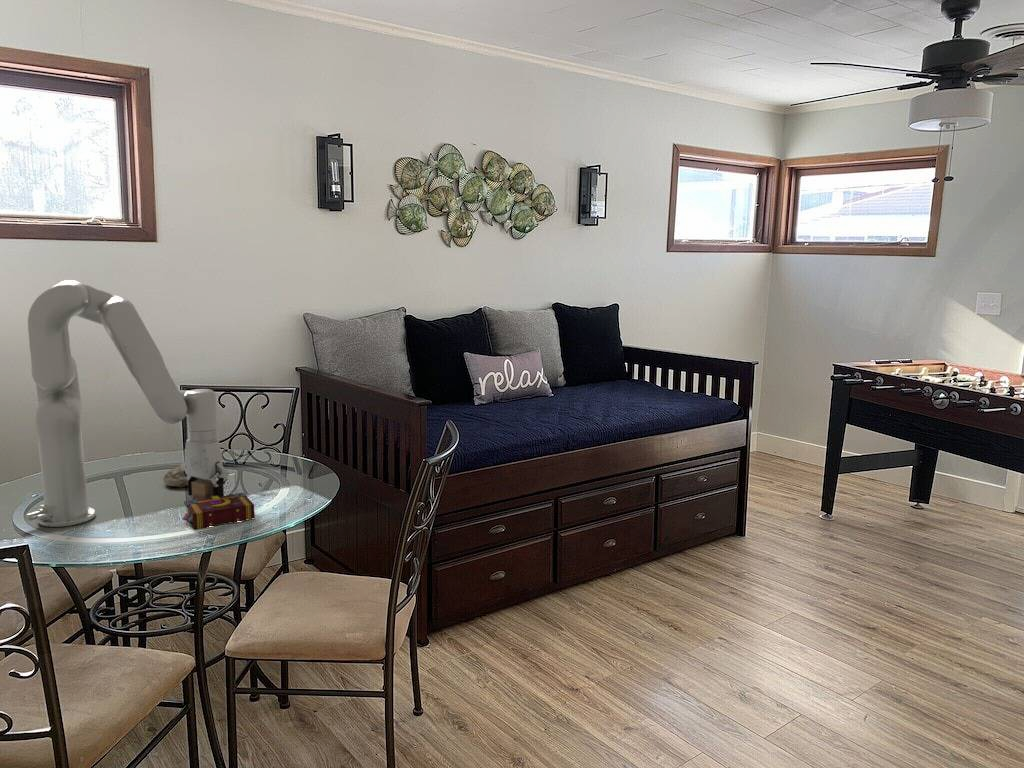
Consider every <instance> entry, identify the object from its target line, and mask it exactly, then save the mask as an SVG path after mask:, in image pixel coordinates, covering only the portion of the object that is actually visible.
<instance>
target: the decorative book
mask: <svg viewBox="0 0 1024 768" xmlns="http://www.w3.org/2000/svg"><path fill="white" fill-rule="evenodd" d="M183 504H184V506H185V507H186V508H187V509H186V510H187V511H186V512H187V513H184V516H183V517H182V520H183V521H188V524H190V525H191V527H192V528H193V530H196V528H197V529H203V528H207V527H209V526H220V525H219V524H221V525H225V524H224V523H227V524H230V523H229V522H233V523H234V522H237V521H242V520H245V521H247V520H246V519H251V520H253V519H252V518H256V517H255V504H254V503H253V502H252V501H251V499H249V497H248V495H247V494H246V493H245V492H244V491H243V492H237V493H231V494H228V495H224V496H221V497H218V496H212V497H211V498H208V499H201V500H200V499H196V500H192V499H189V500H184V501H183ZM202 527H203V528H202Z"/></svg>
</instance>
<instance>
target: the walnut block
mask: <svg viewBox="0 0 1024 768" xmlns="http://www.w3.org/2000/svg"><path fill="white" fill-rule="evenodd" d="M216 481H218V479H216ZM191 485H192V495H191V500H196V499H200V500H201V499H208V498H211V497H212V496H213V490H212V488H213V487H214V485H213V483H212V481H211V479H209V480H205V479H199V480H196V481H193V482H191Z"/></svg>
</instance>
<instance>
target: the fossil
mask: <svg viewBox="0 0 1024 768" xmlns="http://www.w3.org/2000/svg"><path fill="white" fill-rule="evenodd" d="M183 462H184V461H182V462H181V463H183ZM183 471H184V470H183V469H182V466H181V464H180V465H179V466H177V467H174V468H171V469H170V470H168V471H167V472H166V473H165V474H164V476H163V477H162V479H163V482H164V484H165V486H166V485H167V486H168V487H178V488H184V487H188V481H187V480H186V476H185V474H184V473H183ZM196 479H200V478H196Z"/></svg>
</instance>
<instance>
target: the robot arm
mask: <svg viewBox="0 0 1024 768" xmlns="http://www.w3.org/2000/svg"><path fill="white" fill-rule="evenodd" d="M75 316H76V317H79V318H81V319H84V320H87V321H89V322H93V323H95V324H99V325H102V326H103V328H104V329H105V331H106V333H107V334H108V337H109V338H110V340H111V341H112V342H113V344H114V346H115V347H116V350H117V351H118V353H119V355H120V357H121V358H122V360H123V362H124V364H125V365H126V368H128V371H129V372H130V374H131V376H133V378H134V379H135V381H136V382H137V384H138V386H139V387H140V389H141V391H142V392H143V394H144V397H145V398H146V400H147V401H148V403H149V404H150V407H151V408H152V410H153V412H154V414H155V415H156V417H157V418H158V419H159V420H160V421H161V422H162V423H165V424H167V425H174V424H179V423H180V422H182V421H183V420H184V419H185V418H186V423H187V424H186V426H187V427H186V428H187V439H186V441H185V445H184V446H185V448H184V461H182V462H183V463H182V462H180V465H181V466H182V469H183V470H184V471H183V473H184V474H185V476H186V480H187V481H188V486H187V491H188V492H187V493H188V496H191V497H192V485H191V482H193V481H196V480H199V479H196V478H200V479H205V480H209V479H211V481H212V483H213V485H214V487H213V488H212V490H213V496H218V497H221V496H225V494H224V493H225V491H224V490H225V489H224V488H225V487H224V486H225V484H226V482H227V481H228V478H229V475H230V471H229V470H228V469H227V468H226V467H224V466H223V454H222V450H221V444H220V441H219V431H218V417H217V416H218V411H217V395H216V392H215V391H214V390H213V389H211V388H210V389H208V388H194V389H190V390H187V389H184V390H183V389H178V387H177V386H176V384H175V381H174V380H173V378H172V377H171V375H170V373H169V371H168V367H166V364H165V361H164V359H163V355H162V354H161V352H160V350H159V348H158V346H157V344H156V343H155V341H154V339H153V337H152V336H151V334H150V332H149V330H148V328H147V327H146V325H145V323H144V321H143V320H142V318H141V316H140V315H139V313H138V311H137V309H136V307H135V305H134V304H133V303H132V302H131V300H129V299H127V298H125V297H122V296H118V295H116V294H113V293H110V292H108V291H104V290H102V289H99V288H96V287H93V286H92V285H89V284H86V283H83V282H80V281H78V280H72V279H70V280H69V279H67V280H62V281H60V282H58V283H57V284H55V285H53V286H51V287H50V288H48V289H46V290H44V292H42V293H41V294H39V295H38V296H37V297H36V299H35V300H34V301H33V302H32V305H31V306H30V309H29V311H28V316H27V331H28V332H27V333H28V341H29V346H28V347H29V353H30V360H31V361H30V363H31V369H30V371H31V376H32V379H33V381H34V383H35V387H36V395H37V401H38V406H37V409H36V412H35V419H34V420H35V429H36V436H37V445H38V454H39V461H40V462H39V463H40V471H41V482H42V495H43V504H40V505H39V508H38V509H37V510H36V511H31V512H28V513H25V514H24V520H25V522H31V521H35V520H37V521H38V524H39V525H41V526H44V527H48V526H49V527H51V528H52V527H53V528H57V527H58V528H61V527H69V526H74V525H75V526H76V525H79V524H83V523H86V522H89V521H90V520H92V519H94V518H95V516H96V510H95V508H93V507H89V506H88V504H89V503H88V491H87V490H88V489H87V480H86V479H87V477H86V467H85V455H84V444H83V443H84V442H83V434H82V433H83V432H82V400H81V391H80V384H79V382H80V381H79V374H78V365H77V362H76V360H75V359H74V356H73V355H72V351H71V346H70V335H69V334H70V333H69V332H70V331H69V323H70V321H71V319H72V318H73V317H75ZM216 480H218V481H216Z"/></svg>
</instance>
